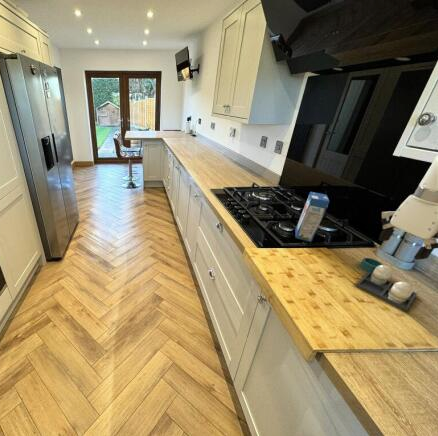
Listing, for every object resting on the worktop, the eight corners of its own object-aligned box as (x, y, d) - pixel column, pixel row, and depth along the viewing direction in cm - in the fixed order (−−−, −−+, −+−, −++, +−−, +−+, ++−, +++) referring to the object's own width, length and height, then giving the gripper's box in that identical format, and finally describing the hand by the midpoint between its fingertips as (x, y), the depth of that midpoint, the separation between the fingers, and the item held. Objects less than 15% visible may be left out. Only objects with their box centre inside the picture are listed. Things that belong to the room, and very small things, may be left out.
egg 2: (405, 302, 74) (417, 285, 71) (401, 307, 72) (414, 290, 69) (387, 293, 77) (399, 276, 74) (383, 298, 75) (395, 281, 72)
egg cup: (381, 271, 89) (386, 264, 87) (376, 277, 85) (381, 269, 84) (361, 263, 93) (366, 255, 91) (356, 268, 90) (360, 260, 88)
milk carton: (311, 242, 105) (329, 201, 96) (295, 238, 107) (311, 198, 98) (309, 233, 113) (326, 194, 104) (295, 229, 115) (310, 191, 106)
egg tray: (414, 297, 77) (417, 293, 76) (404, 313, 70) (407, 309, 70) (367, 275, 86) (369, 271, 85) (354, 287, 80) (356, 283, 79)
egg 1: (385, 283, 81) (396, 267, 78) (382, 288, 79) (393, 271, 76) (370, 276, 84) (380, 261, 81) (366, 280, 82) (376, 264, 79)
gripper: (491, 209, 56) (446, 266, 64) (408, 185, 71) (380, 233, 79) (468, 209, 55) (425, 268, 62) (388, 185, 70) (361, 234, 77)
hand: (399, 248), depth 71 cm, fingers open, 9 cm apart
